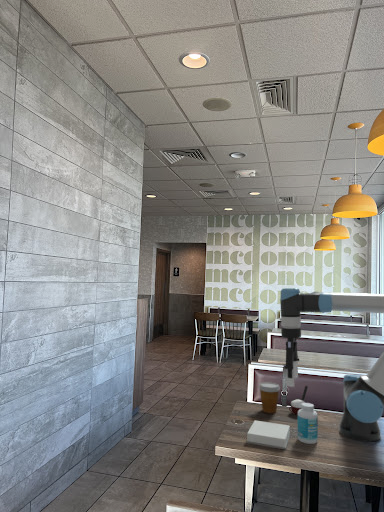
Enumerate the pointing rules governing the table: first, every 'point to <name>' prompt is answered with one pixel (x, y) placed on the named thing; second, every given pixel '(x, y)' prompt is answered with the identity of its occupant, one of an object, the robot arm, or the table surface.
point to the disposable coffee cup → (269, 396)
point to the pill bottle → (307, 424)
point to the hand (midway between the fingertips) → (292, 381)
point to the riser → (269, 434)
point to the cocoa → (298, 403)
